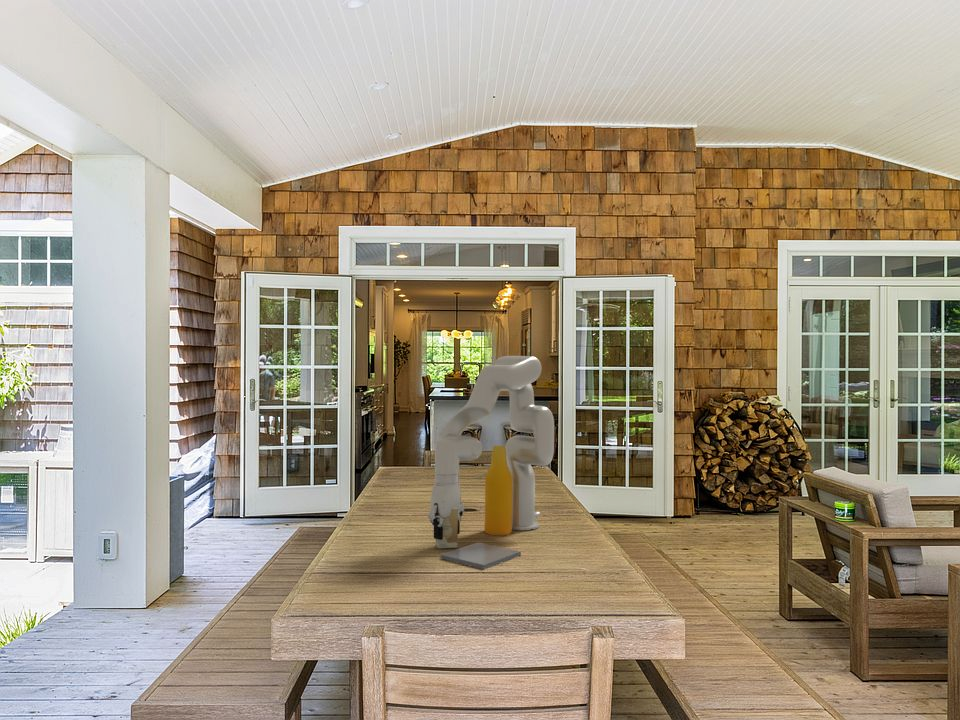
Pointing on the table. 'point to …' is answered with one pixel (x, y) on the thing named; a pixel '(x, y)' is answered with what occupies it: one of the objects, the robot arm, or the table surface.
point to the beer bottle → (498, 494)
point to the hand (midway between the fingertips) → (446, 535)
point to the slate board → (480, 555)
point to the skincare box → (449, 530)
